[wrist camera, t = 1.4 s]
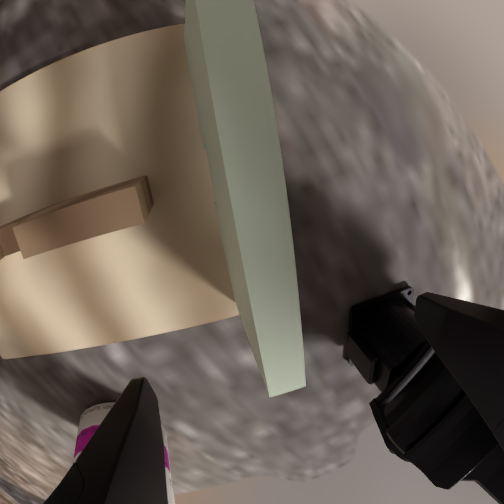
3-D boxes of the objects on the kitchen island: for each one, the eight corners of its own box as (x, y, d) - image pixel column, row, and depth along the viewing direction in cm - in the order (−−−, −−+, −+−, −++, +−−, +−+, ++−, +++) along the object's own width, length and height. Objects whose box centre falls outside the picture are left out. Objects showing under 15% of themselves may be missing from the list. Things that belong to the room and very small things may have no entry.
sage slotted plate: (184, 38, 12) (188, -42, 5) (213, 33, 12) (242, -46, 5) (235, 302, 18) (269, 397, 11) (259, 296, 19) (305, 386, 11)
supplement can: (74, 391, 19) (52, 549, 6) (166, 401, 22) (191, 566, 8) (89, 442, 22) (86, 568, 8) (165, 450, 24) (188, 577, 10)
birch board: (246, 21, 13) (250, 15, 12) (288, 293, 20) (293, 300, 19) (-65, 145, 10) (-73, 146, 9) (7, 352, 17) (3, 359, 16)
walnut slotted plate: (146, 175, 14) (135, 185, 11) (153, 203, 15) (144, 223, 11) (-44, 247, 12) (-75, 269, 9) (-37, 267, 13) (-66, 292, 9)
